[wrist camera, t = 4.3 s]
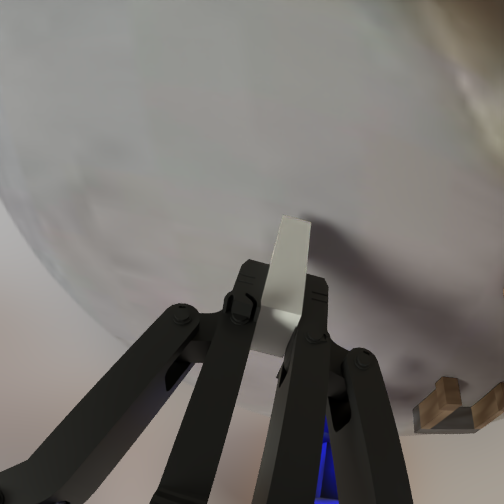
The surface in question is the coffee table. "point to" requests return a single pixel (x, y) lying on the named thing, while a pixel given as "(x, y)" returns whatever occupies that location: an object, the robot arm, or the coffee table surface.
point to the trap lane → (456, 410)
